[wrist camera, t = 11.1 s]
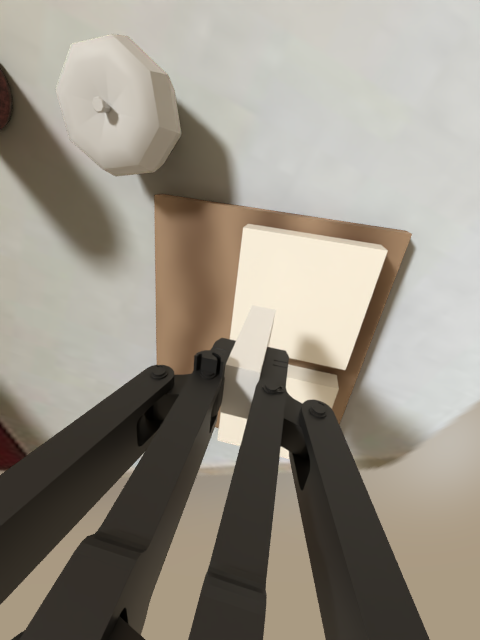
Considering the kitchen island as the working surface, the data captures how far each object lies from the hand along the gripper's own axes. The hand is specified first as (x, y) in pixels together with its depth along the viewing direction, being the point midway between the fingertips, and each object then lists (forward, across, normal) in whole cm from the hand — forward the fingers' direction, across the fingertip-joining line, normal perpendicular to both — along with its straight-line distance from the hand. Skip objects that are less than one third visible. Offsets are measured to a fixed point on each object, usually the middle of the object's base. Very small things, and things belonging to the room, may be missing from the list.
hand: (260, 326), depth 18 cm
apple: (+9, -12, +11) cm, 19 cm away
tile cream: (+6, -3, 0) cm, 7 cm away
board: (+9, -1, -6) cm, 11 cm away
